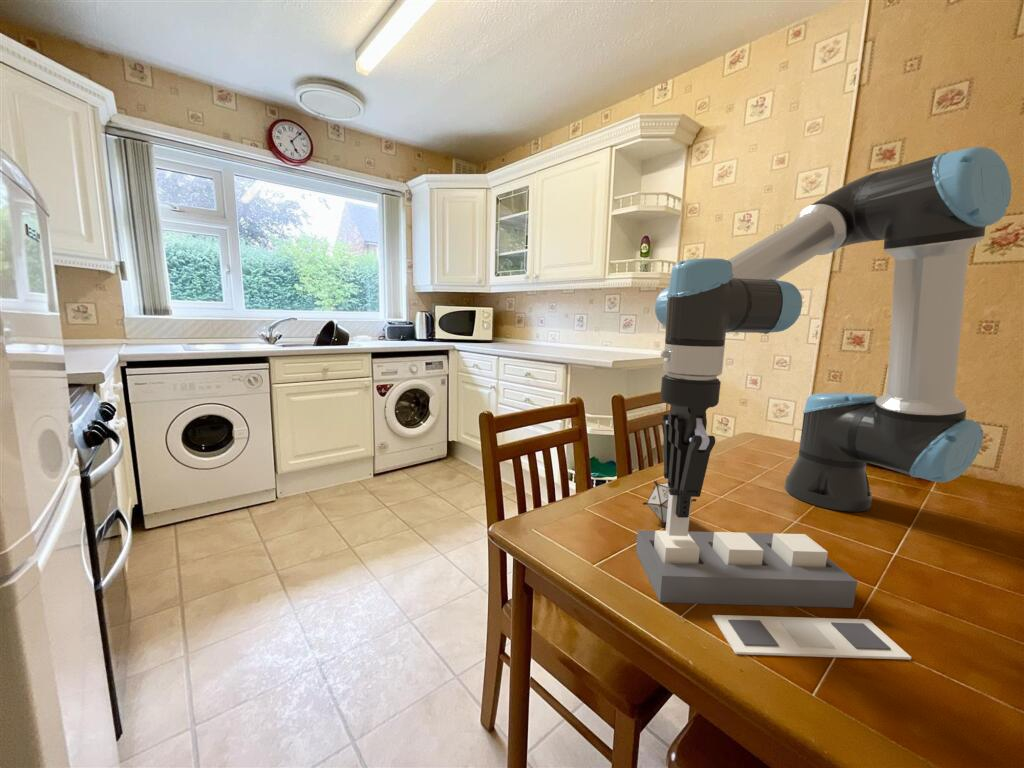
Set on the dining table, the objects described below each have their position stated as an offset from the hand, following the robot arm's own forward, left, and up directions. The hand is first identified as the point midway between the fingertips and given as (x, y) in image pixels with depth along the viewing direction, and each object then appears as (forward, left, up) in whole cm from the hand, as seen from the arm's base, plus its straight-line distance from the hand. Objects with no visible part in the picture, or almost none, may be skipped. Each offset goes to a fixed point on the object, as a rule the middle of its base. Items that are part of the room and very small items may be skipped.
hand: (676, 533), depth 61 cm
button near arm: (-18, 0, -4) cm, 18 cm away
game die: (-5, -17, -7) cm, 19 cm away
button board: (-9, 0, -7) cm, 11 cm away
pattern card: (-12, +11, -7) cm, 18 cm away
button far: (0, 0, -4) cm, 4 cm away
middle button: (-9, 0, -4) cm, 10 cm away
